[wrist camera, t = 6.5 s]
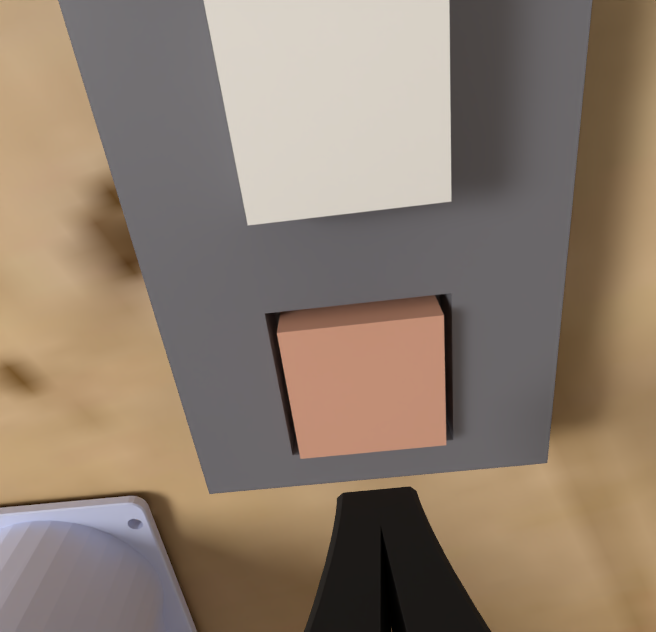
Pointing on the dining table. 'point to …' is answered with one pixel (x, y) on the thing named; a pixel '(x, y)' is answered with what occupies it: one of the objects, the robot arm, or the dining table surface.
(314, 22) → the cream key
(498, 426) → the keypad
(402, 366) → the terracotta key
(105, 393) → the dining table surface
